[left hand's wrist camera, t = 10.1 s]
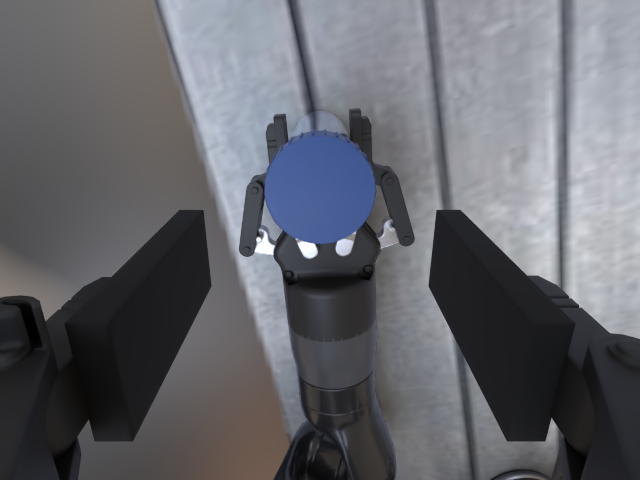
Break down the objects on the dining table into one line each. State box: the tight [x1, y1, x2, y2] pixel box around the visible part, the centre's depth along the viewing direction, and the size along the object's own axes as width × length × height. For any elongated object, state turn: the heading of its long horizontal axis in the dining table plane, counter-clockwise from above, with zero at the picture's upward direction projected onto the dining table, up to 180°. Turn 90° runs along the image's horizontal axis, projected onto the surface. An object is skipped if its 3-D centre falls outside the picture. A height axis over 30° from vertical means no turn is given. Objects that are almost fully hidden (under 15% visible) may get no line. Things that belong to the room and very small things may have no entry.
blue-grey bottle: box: [291, 110, 350, 140], centre depth 29 cm, size 5×5×18 cm
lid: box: [264, 129, 376, 244], centre depth 21 cm, size 6×6×2 cm
